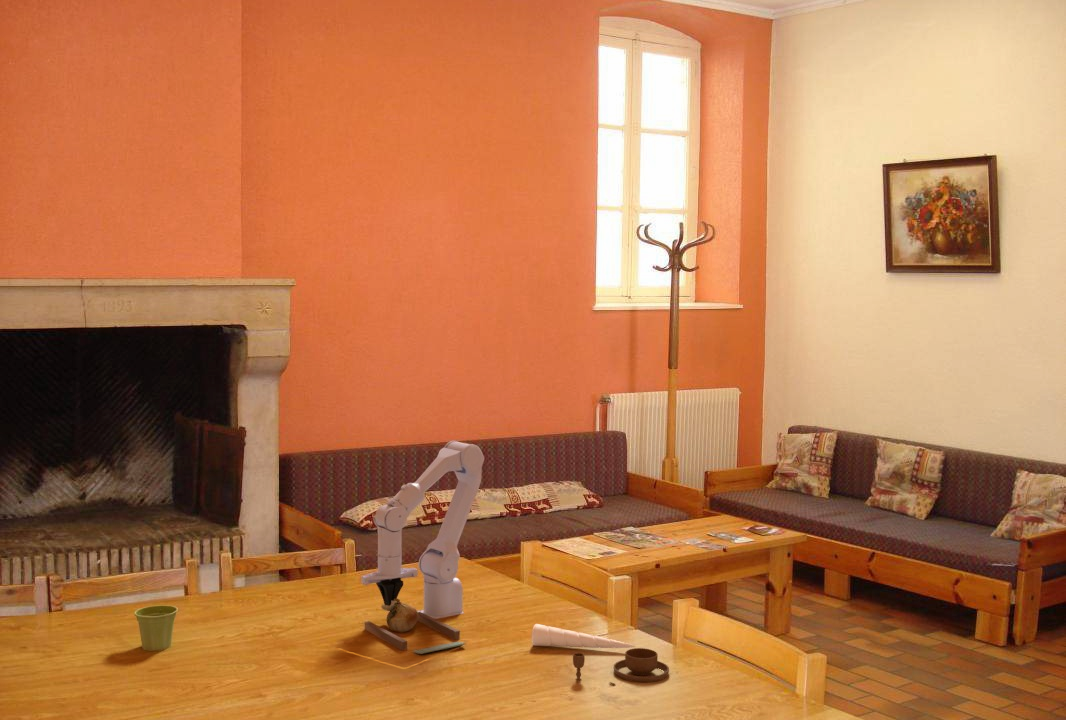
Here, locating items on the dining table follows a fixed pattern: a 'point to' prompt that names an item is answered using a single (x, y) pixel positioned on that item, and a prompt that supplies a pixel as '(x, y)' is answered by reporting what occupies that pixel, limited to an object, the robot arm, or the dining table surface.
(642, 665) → the place setting
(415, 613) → the onion
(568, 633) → the unicorn horn
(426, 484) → the robot arm
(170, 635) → the plant pot
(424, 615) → the cart frame
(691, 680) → the dining table surface
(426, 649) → the panel
